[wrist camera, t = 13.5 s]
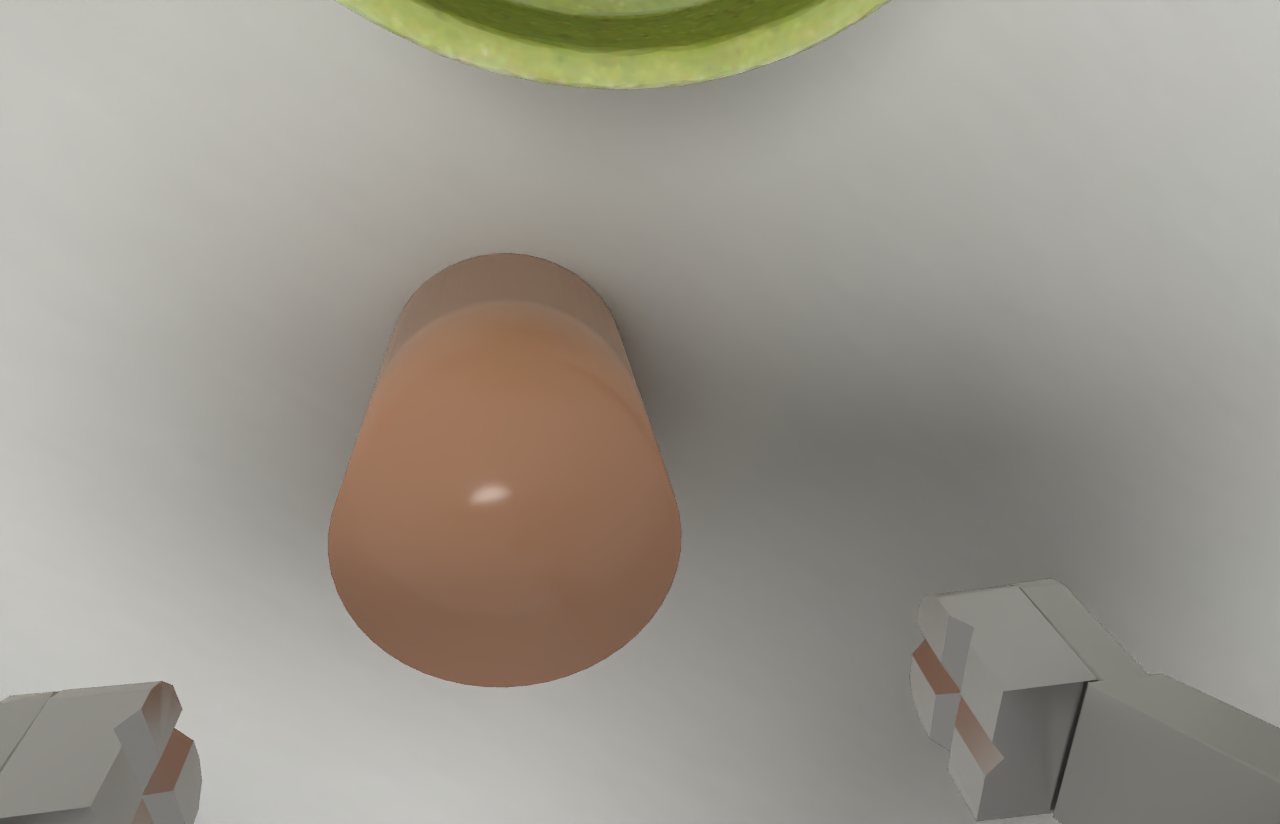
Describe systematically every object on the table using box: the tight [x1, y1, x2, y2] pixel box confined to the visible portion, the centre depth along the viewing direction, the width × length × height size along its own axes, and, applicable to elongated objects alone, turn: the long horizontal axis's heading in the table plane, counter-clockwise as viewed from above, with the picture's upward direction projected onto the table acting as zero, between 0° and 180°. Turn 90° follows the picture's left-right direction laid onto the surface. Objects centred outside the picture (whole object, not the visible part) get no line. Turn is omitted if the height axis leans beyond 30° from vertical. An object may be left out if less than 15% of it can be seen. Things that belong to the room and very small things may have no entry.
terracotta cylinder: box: [328, 253, 681, 687], centre depth 16 cm, size 5×5×7 cm
